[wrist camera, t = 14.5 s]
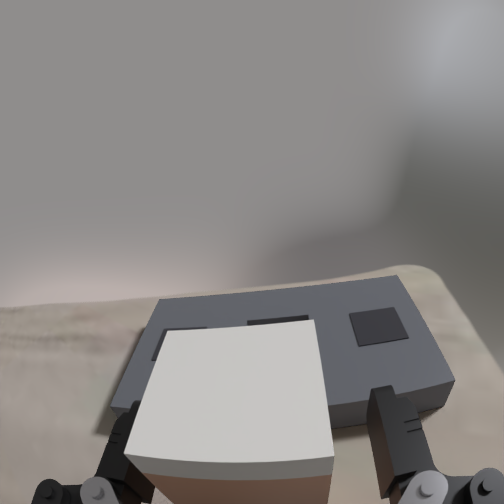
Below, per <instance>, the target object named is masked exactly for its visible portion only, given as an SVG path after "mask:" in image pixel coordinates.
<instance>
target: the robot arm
mask: <svg viewBox="0 0 504 504" xmlns="http://www.w3.org/2000/svg"><path fill="white" fill-rule="evenodd" d="M140 404H141V401H140V400H135V401H134V402H133V403H132V405H131V408H130V411H129V413H128V412H123V414H122V415H121V416H120V417H119V418H118V419H117V420H116V422H115V424H114V427H113V429H112V432H111V433H112V434H110V437H109V440H108V443H107V445H106V448H105V450H104V453H103V456H102V458H101V461H100V464H99V467H98V469H97V472H96V474H95V476H94V477H92V478H89V479H88V480H86V481H85V482H84V483H83V484H81V485H61V484H60V483H58V482H57V481H56V480H53V479H46V480H44V481H42V482H41V483H40V484H39V485H38V486H37V488H36V491H35V494H34V497H33V500H32V503H31V504H141V502H143V503H148V504H151V502H152V497H153V493H154V489H155V486H154V485H153V484H152V483H151V482H150V481H149V480H148V479H147V478H146V477H145V476H144V475H143V474H142V473H141V472H140V471H139V469H138V468H137V467H136V466H135V465H134V464H133V463H132V462H131V461H130V460H129V459H128V458H127V457H126V455H125V454H124V451H125V448H126V445H127V442H128V439H129V436H130V433H131V430H132V427H133V424H134V421H135V418H136V415H137V412H138V410H139V407H140ZM366 418H367V427H368V432H369V436H370V441H371V446H372V451H373V456H374V462H375V467H376V472H377V478H378V484H379V490H380V496H381V499H384V498H389V500H390V504H504V476H503V474H502V473H501V472H500V471H499V470H497V469H494V468H485V469H483V470H480V471H479V472H478V473H477V474H476V475H475V476H456V477H453V476H447V475H444V474H442V473H441V472H439V471H438V470H437V468H436V467H435V465H434V463H433V460H432V457H431V453H430V450H429V447H428V443H427V440H426V437H425V434H424V431H423V430H422V425H421V422H420V420H419V416H418V413H417V410H416V407H415V405H414V404H413V403H412V402H411V401H410V400H409V399H408V398H407V397H406V396H405V397H401V398H396V395H395V391H394V389H393V387H392V385H388V386H382V387H377V388H372V389H371V391H370V396H369V402H368V407H367V413H366Z"/></svg>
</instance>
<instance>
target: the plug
mask: <svg viewBox="0 0 504 504" xmlns="http://www.w3.org/2000/svg"><path fill="white" fill-rule="evenodd" d="M124 454H125V455H126V457H127V458H128V459H129V460H130V461H131V462H132V463H133V464H134V465H135V466H136V467H137V468H138V469H139V471H140V472H141V473H142V474H143V475H144V476H145V477H146V478H147V479H148V480H149V481H150V482H151V483H152V484H153V485H154V486H155V487H156V488H157V489H159V490H160V491H161V492H162V493H163V494H164V495H165V496H166V497H167V498H168V499H169V500H170V501H171V502H172V503H174V504H327V503H328V497H329V490H330V484H331V477H332V470H333V462H334V449H333V441H332V434H331V426H330V419H329V412H328V405H327V398H326V391H325V384H324V378H323V371H322V365H321V359H320V353H319V347H318V341H317V335H316V329H315V323H314V319H313V320H304V321H295V322H286V323H276V324H265V325H253V326H241V327H228V328H213V329H196V330H175V331H167V334H166V336H165V339H164V341H163V344H162V347H161V349H160V352H159V355H158V357H157V360H156V363H155V365H154V368H153V371H152V373H151V376H150V379H149V382H148V384H147V387H146V390H145V393H144V395H143V398H142V401H141V404H140V407H139V410H138V412H137V415H136V418H135V421H134V424H133V427H132V430H131V433H130V436H129V439H128V442H127V445H126V448H125V451H124Z"/></svg>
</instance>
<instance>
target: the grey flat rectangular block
mask: <svg viewBox="0 0 504 504" xmlns="http://www.w3.org/2000/svg"><path fill="white" fill-rule="evenodd" d="M313 319H314V323H315V329H316V335H317V341H318V347H319V353H320V359H321V365H322V371H323V378H324V384H325V391H326V398H327V405H328V412H329V419H330V426H331V429H334V428H342V427H348V426H355V425H361V424H367V418H366V413H367V407H368V402H369V396H370V391H371V389H372V388H377V387H382V386H388V385H392V387H393V389H394V391H395V395H396V398H401V397H405V396H406V397H407V398H408V399H409V400H410V401H411V402H412V403H413V404H414V405H415V407H416V410H417V413H419V412H423V411H427V410H431V409H435V408H438V407H442V406H444V405H445V403H446V401H447V398H448V396H449V394H450V392H451V389H452V387H453V385H454V382H455V378H454V376H453V374H452V372H451V370H450V368H449V366H448V364H447V362H446V360H445V358H444V356H443V354H442V352H441V351H440V349H439V347H438V345H437V343H436V341H435V339H434V337H433V336H432V334H431V332H430V330H429V328H428V327H427V325H426V323H425V321H424V319H423V318H422V316H421V314H420V312H419V311H418V309H417V307H416V306H415V304H414V302H413V300H412V299H411V297H410V295H409V294H408V292H407V290H406V289H405V287H404V286H403V284H402V282H401V281H400V279H399V277H398V276H397V275H394V276H387V277H379V278H372V279H364V280H356V281H348V282H339V283H331V284H322V285H313V286H304V287H295V288H285V289H276V290H266V291H255V292H244V293H233V294H222V295H210V296H197V297H184V298H171V299H159V301H158V303H157V305H156V307H155V309H154V311H153V313H152V316H151V318H150V320H149V322H148V324H147V326H146V328H145V330H144V332H143V334H142V336H141V338H140V341H139V343H138V345H137V347H136V349H135V351H134V353H133V356H132V358H131V360H130V362H129V364H128V366H127V369H126V371H125V373H124V375H123V377H122V380H121V382H120V384H119V386H118V389H117V391H116V393H115V396H114V398H113V400H112V402H111V405H110V407H111V409H112V410H113V411H114V413H115V414H116V416H117V417H118V418H119V417H120V416H121V415H122V414H123V412H128V413H129V411H130V408H131V405H132V403H133V402H134V401H135V400H140V401H142V398H143V395H144V393H145V390H146V387H147V384H148V382H149V379H150V376H151V373H152V371H153V368H154V365H155V363H156V360H157V357H158V355H159V352H160V349H161V347H162V344H163V341H164V339H165V336H166V334H167V331H175V330H196V329H213V328H228V327H241V326H253V325H265V324H276V323H286V322H295V321H304V320H313Z"/></svg>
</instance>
